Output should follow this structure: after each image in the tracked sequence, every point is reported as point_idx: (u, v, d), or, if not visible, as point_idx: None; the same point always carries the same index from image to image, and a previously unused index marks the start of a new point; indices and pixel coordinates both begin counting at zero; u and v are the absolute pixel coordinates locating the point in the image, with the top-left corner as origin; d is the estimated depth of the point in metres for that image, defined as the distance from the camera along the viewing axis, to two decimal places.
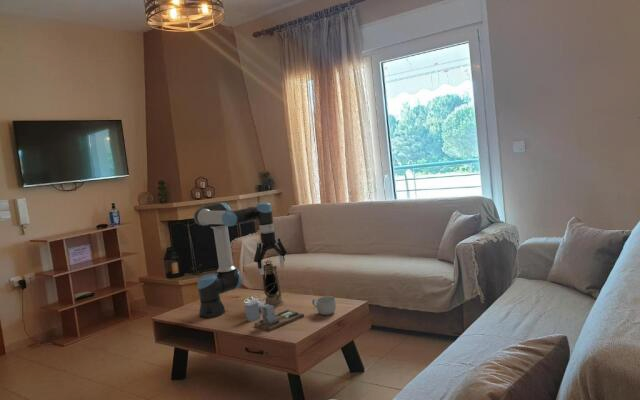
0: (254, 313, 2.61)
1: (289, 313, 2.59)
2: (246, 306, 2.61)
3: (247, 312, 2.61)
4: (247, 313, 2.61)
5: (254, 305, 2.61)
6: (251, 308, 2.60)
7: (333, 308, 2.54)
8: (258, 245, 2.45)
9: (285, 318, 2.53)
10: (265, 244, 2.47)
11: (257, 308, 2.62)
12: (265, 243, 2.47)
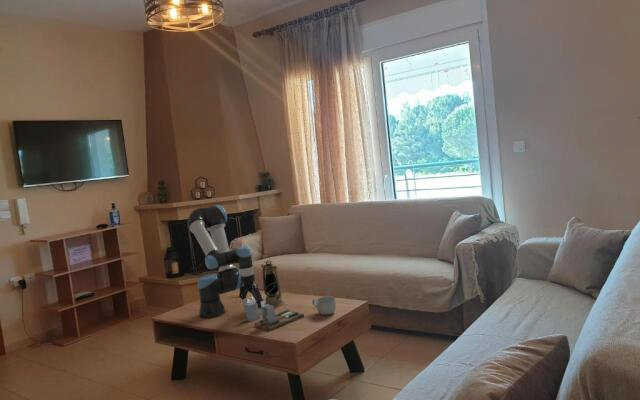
0: (254, 313, 2.61)
1: (289, 313, 2.59)
2: (246, 306, 2.61)
3: (247, 312, 2.61)
4: (247, 313, 2.61)
5: (254, 305, 2.61)
6: (251, 308, 2.60)
7: (333, 308, 2.54)
8: (256, 286, 2.56)
9: (285, 318, 2.53)
10: None
11: None
12: None
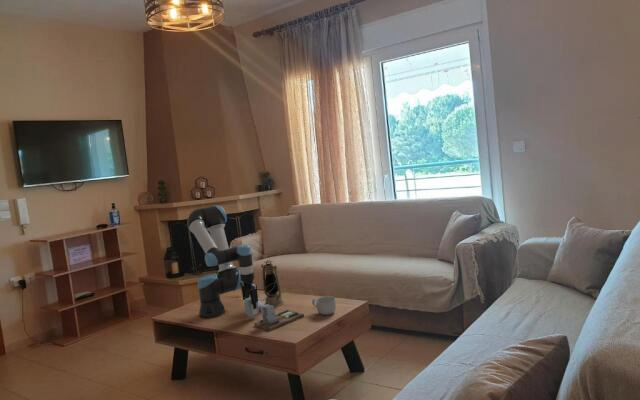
0: None
1: (289, 313, 2.59)
2: (245, 301, 2.60)
3: (246, 307, 2.61)
4: (246, 308, 2.61)
5: None
6: (250, 303, 2.60)
7: (333, 308, 2.54)
8: (255, 287, 2.57)
9: (285, 318, 2.53)
10: None
11: (256, 303, 2.62)
12: None
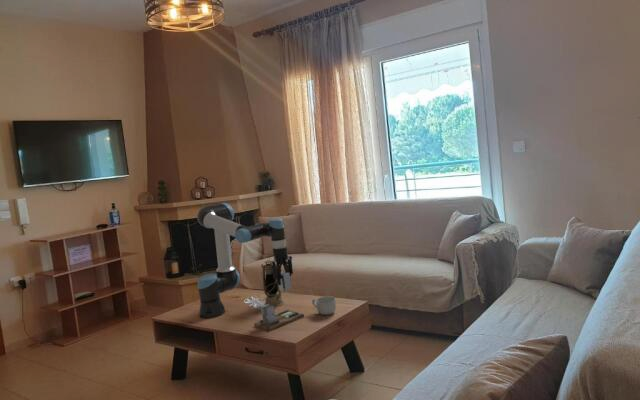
0: None
1: (289, 313, 2.59)
2: (286, 275, 2.53)
3: (287, 281, 2.54)
4: (286, 283, 2.53)
5: None
6: None
7: (333, 308, 2.54)
8: None
9: (285, 318, 2.53)
10: None
11: None
12: None
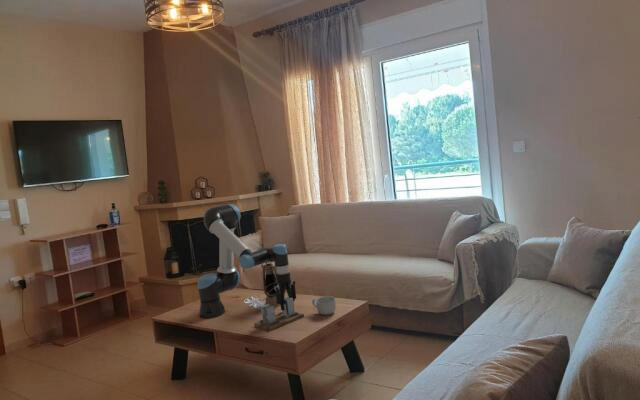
0: None
1: None
2: (289, 300, 2.55)
3: (290, 306, 2.55)
4: (289, 308, 2.55)
5: None
6: None
7: (333, 308, 2.54)
8: None
9: (285, 318, 2.53)
10: None
11: None
12: None
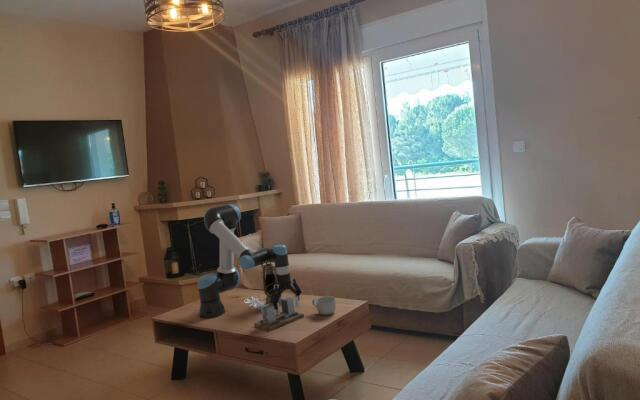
0: None
1: None
2: (289, 301, 2.55)
3: (290, 307, 2.55)
4: (289, 309, 2.55)
5: None
6: None
7: (333, 308, 2.54)
8: None
9: (285, 318, 2.53)
10: None
11: None
12: None
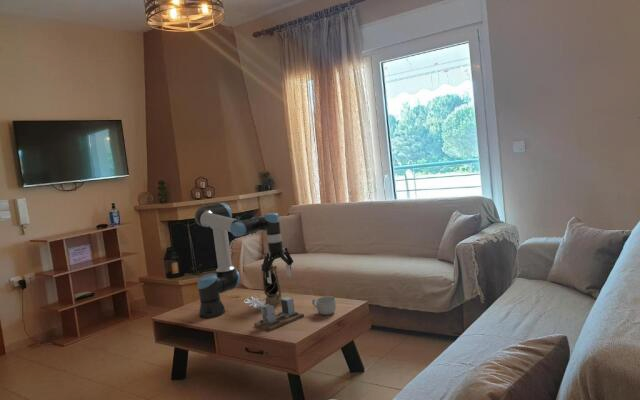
0: None
1: None
2: (289, 301, 2.55)
3: (290, 307, 2.55)
4: (289, 309, 2.55)
5: None
6: None
7: (333, 308, 2.54)
8: None
9: (285, 318, 2.53)
10: None
11: None
12: None
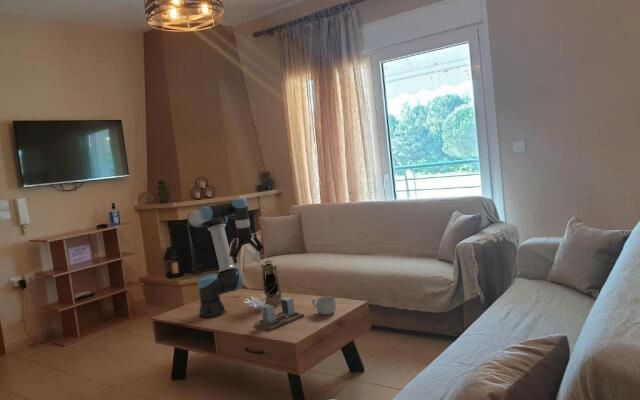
0: None
1: None
2: (289, 301, 2.55)
3: (290, 307, 2.55)
4: (289, 309, 2.55)
5: None
6: None
7: (333, 308, 2.54)
8: None
9: (285, 318, 2.53)
10: None
11: None
12: None
